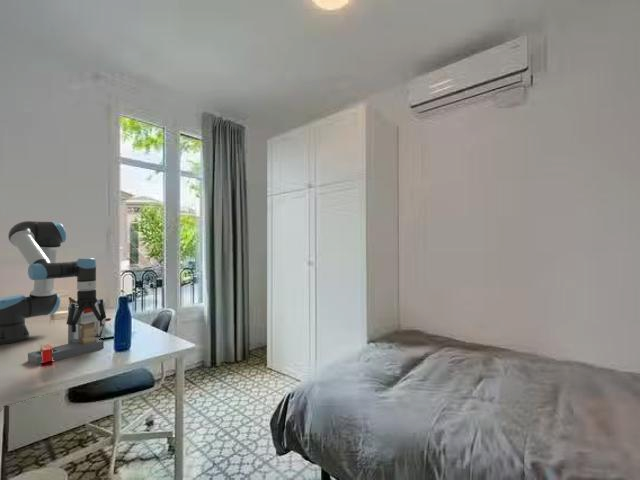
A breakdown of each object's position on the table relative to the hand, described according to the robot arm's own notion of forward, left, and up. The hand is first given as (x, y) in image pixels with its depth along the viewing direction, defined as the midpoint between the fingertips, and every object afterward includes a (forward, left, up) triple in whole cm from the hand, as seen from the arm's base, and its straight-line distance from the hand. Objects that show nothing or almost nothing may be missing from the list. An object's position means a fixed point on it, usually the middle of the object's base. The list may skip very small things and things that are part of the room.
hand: (87, 336), depth 159 cm
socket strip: (0, -8, -6) cm, 10 cm away
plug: (0, 0, -6) cm, 6 cm away
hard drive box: (-14, +6, -7) cm, 17 cm away
